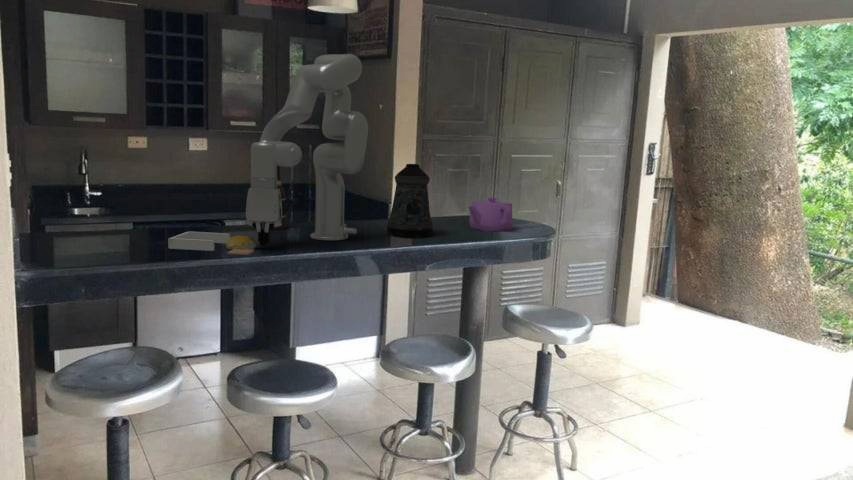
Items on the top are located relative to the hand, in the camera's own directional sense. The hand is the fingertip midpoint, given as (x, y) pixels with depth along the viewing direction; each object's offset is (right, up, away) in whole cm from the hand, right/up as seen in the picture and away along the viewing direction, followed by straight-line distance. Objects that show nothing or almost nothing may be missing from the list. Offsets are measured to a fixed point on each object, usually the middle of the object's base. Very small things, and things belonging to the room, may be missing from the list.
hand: (263, 244), depth 211 cm
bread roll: (-7, -1, +1) cm, 7 cm away
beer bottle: (-5, +5, +40) cm, 41 cm away
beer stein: (+43, +3, +40) cm, 58 cm away
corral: (-19, 0, +2) cm, 20 cm away
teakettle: (+73, +6, +61) cm, 96 cm away
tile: (-5, -2, -7) cm, 9 cm away
